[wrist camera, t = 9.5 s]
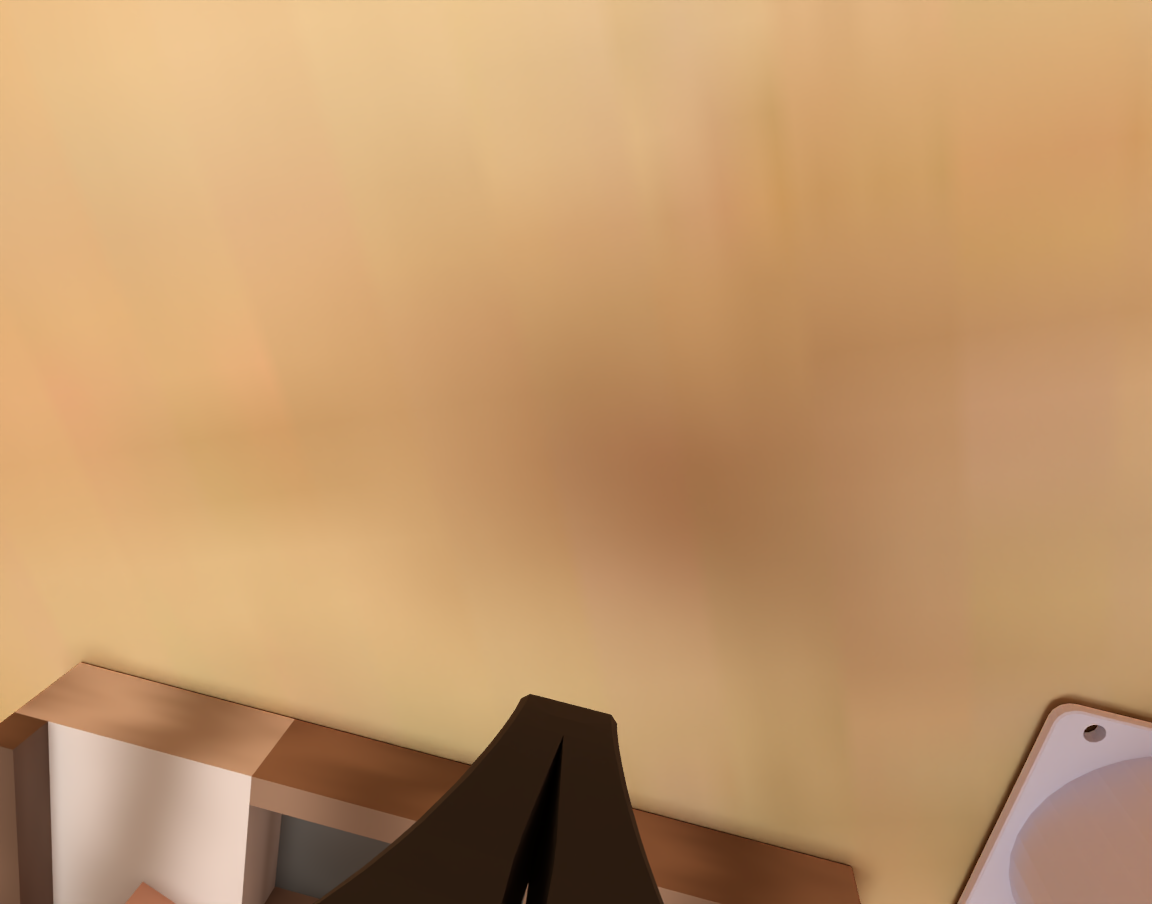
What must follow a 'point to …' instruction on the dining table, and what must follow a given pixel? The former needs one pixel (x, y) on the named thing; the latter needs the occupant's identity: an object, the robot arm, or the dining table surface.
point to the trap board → (270, 807)
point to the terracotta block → (148, 896)
